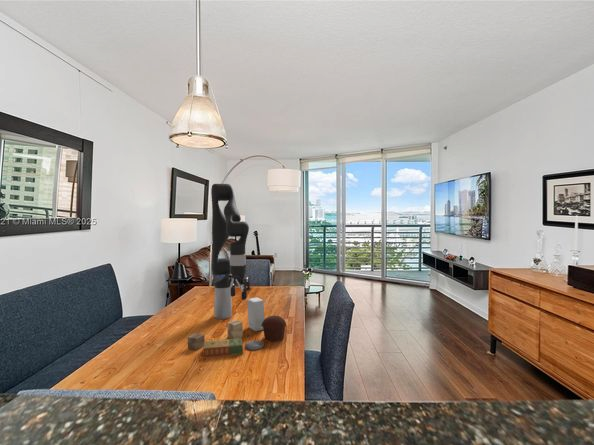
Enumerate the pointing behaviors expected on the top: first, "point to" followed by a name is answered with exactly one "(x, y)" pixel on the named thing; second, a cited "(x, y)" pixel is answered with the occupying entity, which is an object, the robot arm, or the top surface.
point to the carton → (222, 348)
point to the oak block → (235, 329)
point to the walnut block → (196, 341)
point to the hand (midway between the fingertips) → (238, 297)
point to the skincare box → (255, 313)
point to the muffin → (273, 328)
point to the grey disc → (254, 345)
